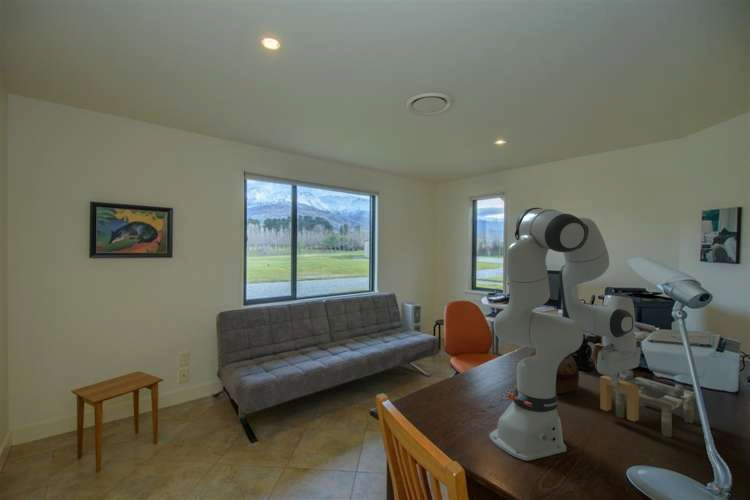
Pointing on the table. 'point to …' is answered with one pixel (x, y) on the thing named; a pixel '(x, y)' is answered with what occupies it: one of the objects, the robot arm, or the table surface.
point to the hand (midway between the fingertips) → (618, 383)
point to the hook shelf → (659, 400)
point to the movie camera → (586, 352)
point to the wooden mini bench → (631, 396)
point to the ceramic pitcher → (566, 375)
